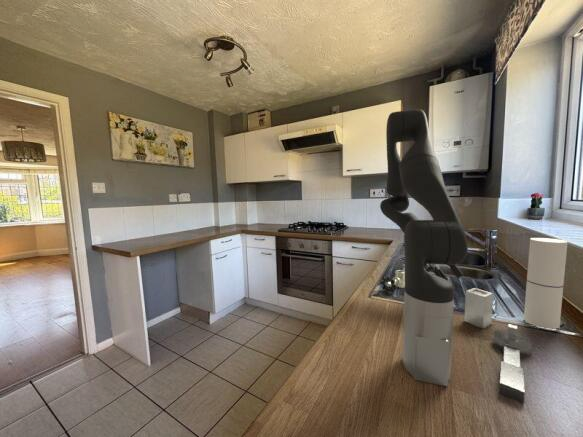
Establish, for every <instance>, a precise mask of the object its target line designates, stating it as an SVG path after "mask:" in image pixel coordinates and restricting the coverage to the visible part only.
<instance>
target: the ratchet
mask: <svg viewBox="0 0 583 437" xmlns="http://www.w3.org/2000/svg"><path fill="white" fill-rule="evenodd" d="M507 326H508V327H507V330H506V329H495V330H494V331H493V333H492V334H493V337H492V344H493V345H494V347H497V349H499V350H500V351H503V361H502V360H500V373H499V374H500V375H499V376H500V377H499V389H498V391H499V394H501V395H502V396H505V397H507V398H510V399H513V400H514V401H517V402H520V403H523V404H525V393H526V392H525V378H524V377H525V376H524V368H523V367H521V359H520V357H524V358H525V357H526V358H527V357H530V356H531V355H532V347H533V343H532V341H531V340H530V339H529V338H528V337H526V336H524V335H522V334H520V333H518V325H514V324H510V323H508V325H507Z"/></svg>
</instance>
